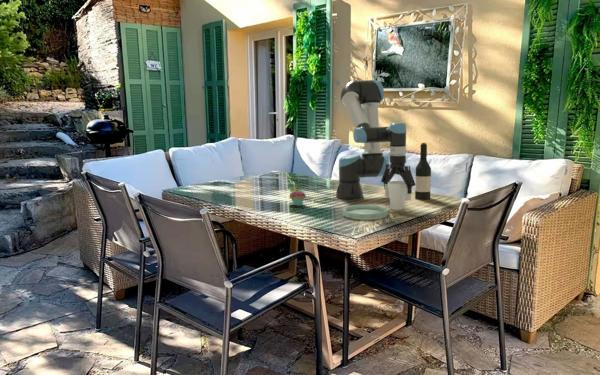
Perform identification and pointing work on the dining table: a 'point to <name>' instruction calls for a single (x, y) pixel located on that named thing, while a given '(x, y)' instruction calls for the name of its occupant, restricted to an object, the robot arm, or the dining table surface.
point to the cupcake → (297, 197)
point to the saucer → (365, 212)
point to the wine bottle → (423, 176)
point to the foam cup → (397, 194)
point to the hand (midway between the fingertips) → (397, 198)
